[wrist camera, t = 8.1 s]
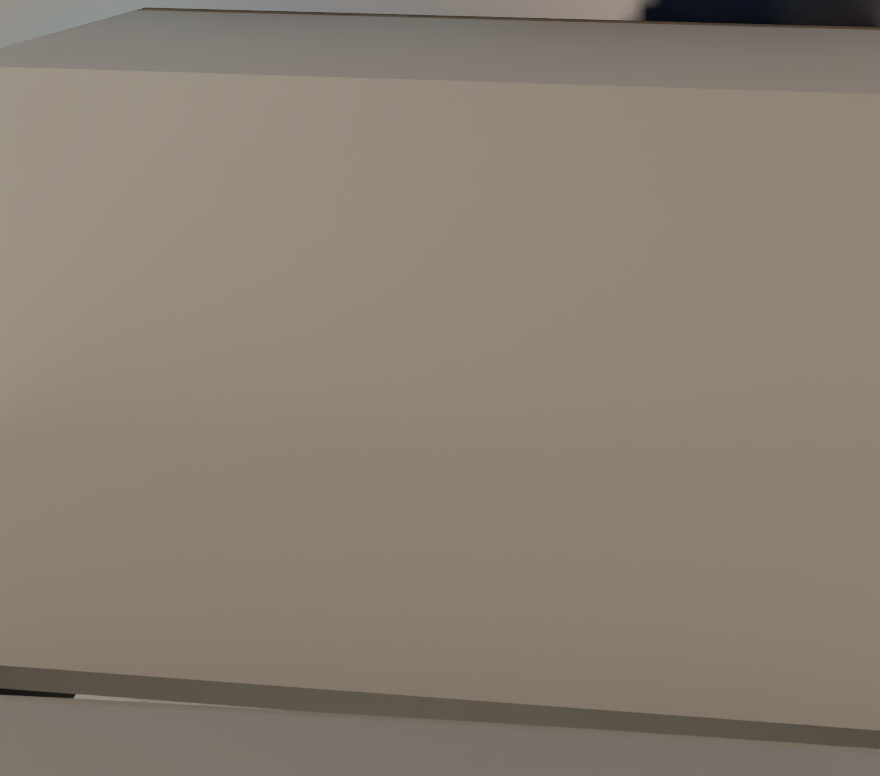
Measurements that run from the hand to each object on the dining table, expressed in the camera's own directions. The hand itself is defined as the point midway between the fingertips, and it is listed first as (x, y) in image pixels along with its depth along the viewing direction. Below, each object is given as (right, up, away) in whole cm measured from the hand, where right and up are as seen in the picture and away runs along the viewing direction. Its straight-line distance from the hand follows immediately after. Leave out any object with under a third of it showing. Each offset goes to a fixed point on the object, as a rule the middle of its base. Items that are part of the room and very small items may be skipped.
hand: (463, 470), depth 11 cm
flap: (0, +2, -2) cm, 3 cm away
